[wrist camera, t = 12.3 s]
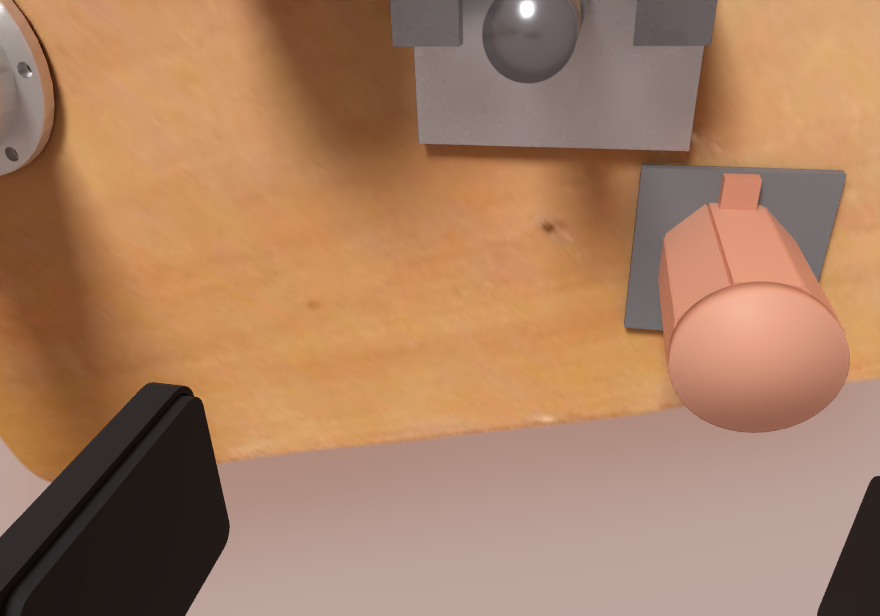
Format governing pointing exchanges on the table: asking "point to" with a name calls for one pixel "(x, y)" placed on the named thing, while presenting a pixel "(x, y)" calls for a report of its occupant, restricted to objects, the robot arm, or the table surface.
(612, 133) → the pegged base plate
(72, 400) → the table surface
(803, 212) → the coaster
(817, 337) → the salmon domed faceted piece
